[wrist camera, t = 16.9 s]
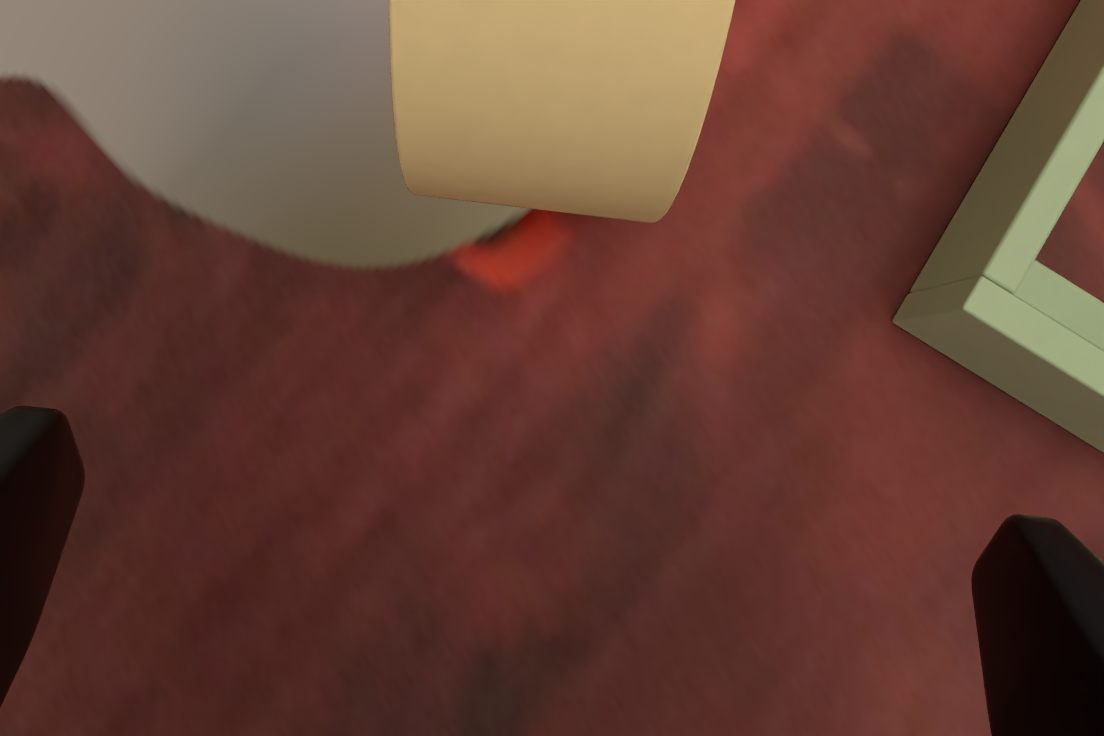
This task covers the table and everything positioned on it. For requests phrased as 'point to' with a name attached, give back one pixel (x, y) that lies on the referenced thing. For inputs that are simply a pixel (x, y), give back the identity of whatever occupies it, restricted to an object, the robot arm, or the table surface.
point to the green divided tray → (1026, 249)
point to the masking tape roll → (554, 99)
